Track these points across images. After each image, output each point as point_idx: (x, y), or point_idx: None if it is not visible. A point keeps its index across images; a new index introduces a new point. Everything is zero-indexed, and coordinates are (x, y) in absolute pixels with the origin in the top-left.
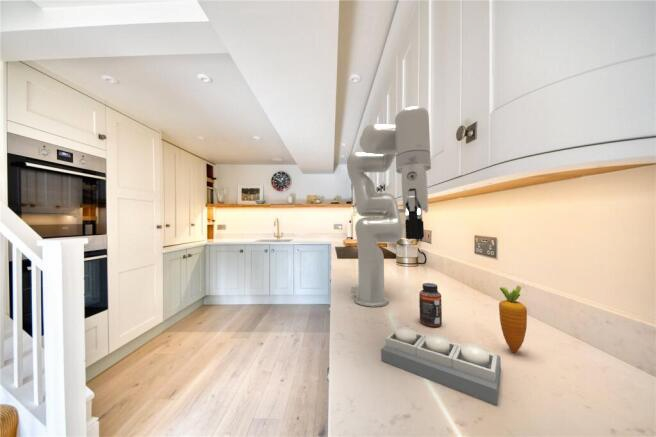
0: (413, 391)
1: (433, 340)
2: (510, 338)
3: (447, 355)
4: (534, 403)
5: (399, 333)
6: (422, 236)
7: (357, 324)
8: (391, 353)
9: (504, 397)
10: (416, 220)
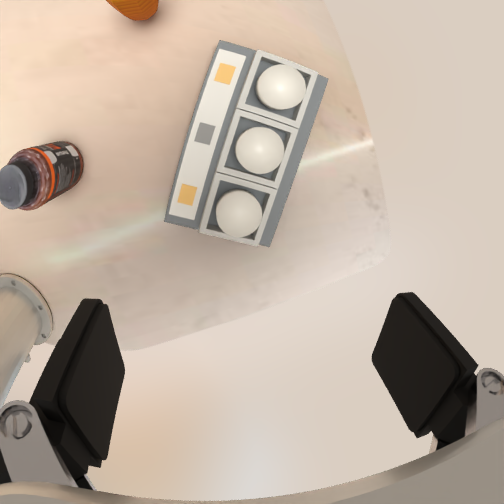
0: (325, 185)
1: (272, 158)
2: (154, 10)
3: None
4: (297, 34)
5: (258, 225)
6: (106, 308)
7: (144, 309)
8: (275, 227)
9: None
10: (472, 378)
